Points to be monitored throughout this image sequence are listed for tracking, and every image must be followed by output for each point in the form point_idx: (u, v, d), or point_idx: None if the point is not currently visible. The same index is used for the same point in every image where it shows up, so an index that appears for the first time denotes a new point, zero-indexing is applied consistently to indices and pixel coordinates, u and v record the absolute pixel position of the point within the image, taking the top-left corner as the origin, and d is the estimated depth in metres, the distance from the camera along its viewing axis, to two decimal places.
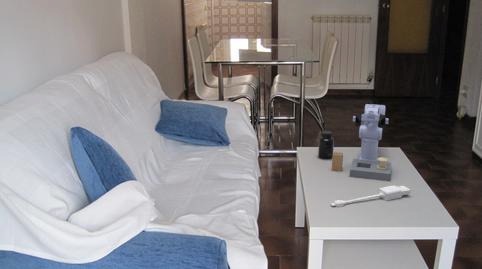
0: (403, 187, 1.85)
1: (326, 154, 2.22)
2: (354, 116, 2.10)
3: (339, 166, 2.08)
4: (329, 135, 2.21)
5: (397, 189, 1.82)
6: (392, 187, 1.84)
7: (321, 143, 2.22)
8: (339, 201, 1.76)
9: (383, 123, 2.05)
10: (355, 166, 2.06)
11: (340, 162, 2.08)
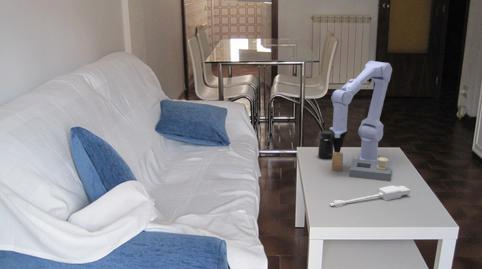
0: (402, 187, 1.85)
1: (326, 154, 2.22)
2: None
3: (339, 166, 2.08)
4: (329, 135, 2.21)
5: (396, 189, 1.82)
6: (391, 187, 1.84)
7: (321, 143, 2.22)
8: (338, 201, 1.76)
9: None
10: (355, 166, 2.06)
11: (340, 162, 2.08)
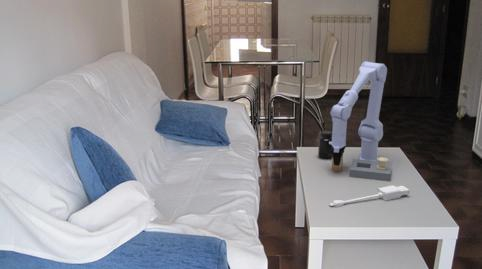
0: (402, 187, 1.85)
1: (326, 154, 2.22)
2: None
3: (339, 166, 2.08)
4: (329, 135, 2.21)
5: (396, 189, 1.82)
6: (391, 187, 1.84)
7: (321, 143, 2.22)
8: (338, 201, 1.76)
9: None
10: (355, 166, 2.06)
11: (340, 162, 2.08)
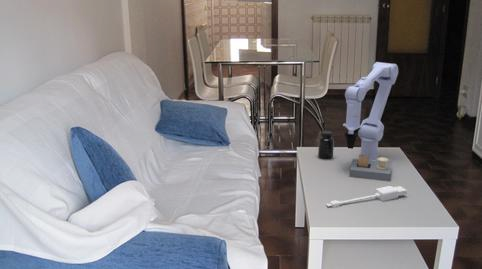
0: (399, 187, 1.85)
1: (326, 154, 2.22)
2: None
3: None
4: (329, 135, 2.21)
5: (393, 189, 1.81)
6: (388, 187, 1.83)
7: (321, 143, 2.22)
8: (335, 201, 1.75)
9: None
10: (355, 166, 2.06)
11: (366, 165, 2.05)
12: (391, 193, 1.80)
